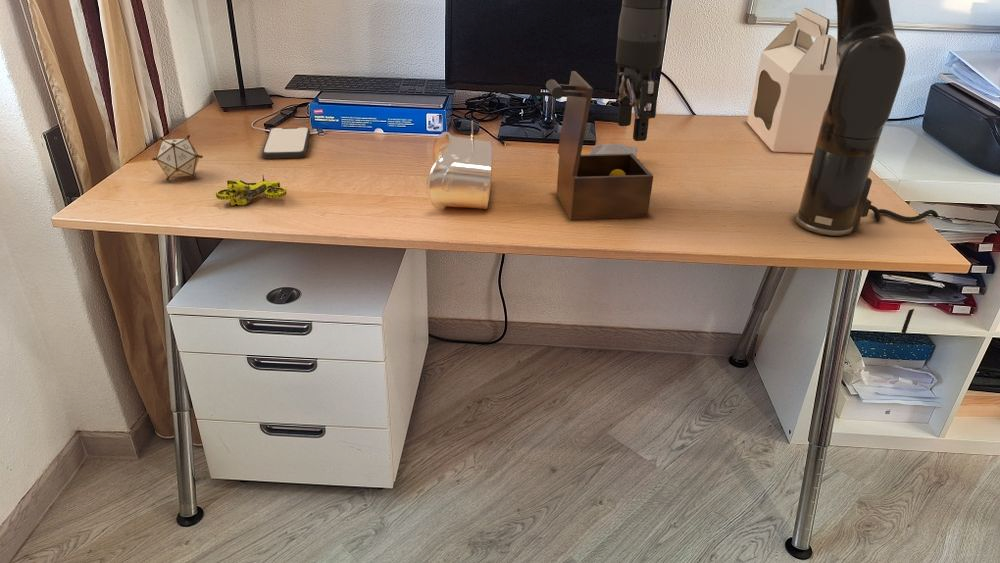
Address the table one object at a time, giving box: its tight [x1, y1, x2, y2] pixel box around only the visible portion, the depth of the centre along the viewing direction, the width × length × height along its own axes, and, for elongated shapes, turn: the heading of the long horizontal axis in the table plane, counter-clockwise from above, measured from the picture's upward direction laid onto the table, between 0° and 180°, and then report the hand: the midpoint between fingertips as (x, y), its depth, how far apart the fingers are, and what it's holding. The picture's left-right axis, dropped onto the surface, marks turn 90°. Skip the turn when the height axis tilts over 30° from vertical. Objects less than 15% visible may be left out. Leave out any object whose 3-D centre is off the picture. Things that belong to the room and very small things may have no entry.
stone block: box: [588, 142, 638, 158], centre depth 148 cm, size 12×5×10 cm
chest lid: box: [545, 70, 594, 176], centre depth 122 cm, size 15×12×6 cm
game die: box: [151, 134, 204, 182], centre depth 135 cm, size 9×8×10 cm
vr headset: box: [425, 120, 493, 210], centre depth 130 cm, size 18×11×14 cm, turn 1°
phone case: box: [261, 126, 311, 160], centre depth 154 cm, size 9×2×16 cm
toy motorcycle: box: [215, 174, 288, 206], centre depth 128 cm, size 12×4×7 cm
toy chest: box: [556, 153, 654, 221], centre depth 129 cm, size 14×12×8 cm
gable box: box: [746, 7, 838, 154], centre depth 163 cm, size 22×13×28 cm, turn 178°
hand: (631, 132), depth 124 cm, fingers open, 8 cm apart
